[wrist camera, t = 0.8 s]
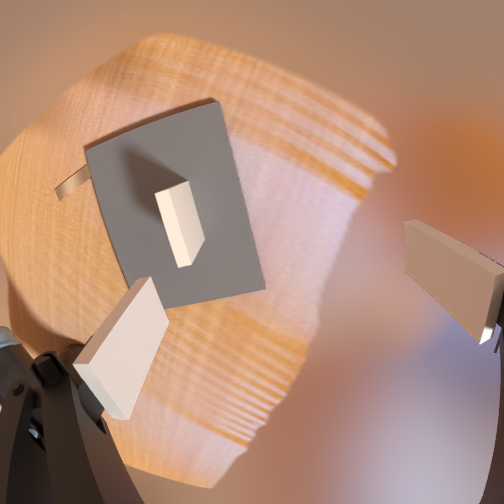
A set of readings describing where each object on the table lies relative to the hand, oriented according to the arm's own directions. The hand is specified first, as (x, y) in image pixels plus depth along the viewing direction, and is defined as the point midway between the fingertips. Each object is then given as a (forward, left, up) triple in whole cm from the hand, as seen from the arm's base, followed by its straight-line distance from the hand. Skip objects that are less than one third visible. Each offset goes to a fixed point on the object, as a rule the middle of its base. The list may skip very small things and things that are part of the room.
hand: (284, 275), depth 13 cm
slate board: (-12, +1, -25) cm, 28 cm away
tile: (-9, +1, -23) cm, 25 cm away
